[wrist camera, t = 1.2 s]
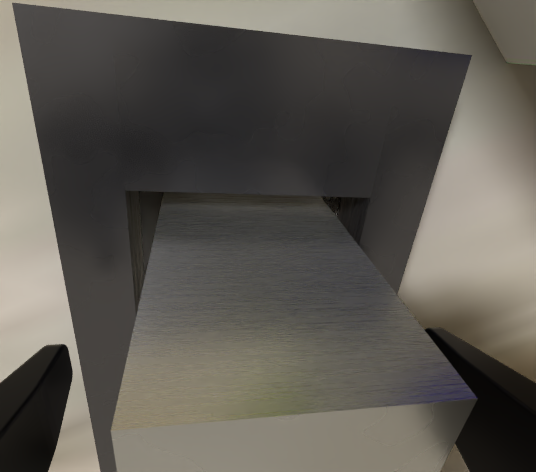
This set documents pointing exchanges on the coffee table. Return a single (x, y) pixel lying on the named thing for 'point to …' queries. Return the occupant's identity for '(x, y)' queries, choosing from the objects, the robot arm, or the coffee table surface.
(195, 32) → the slotted plate
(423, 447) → the brushed metal block
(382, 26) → the coffee table surface
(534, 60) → the puzzle toy
